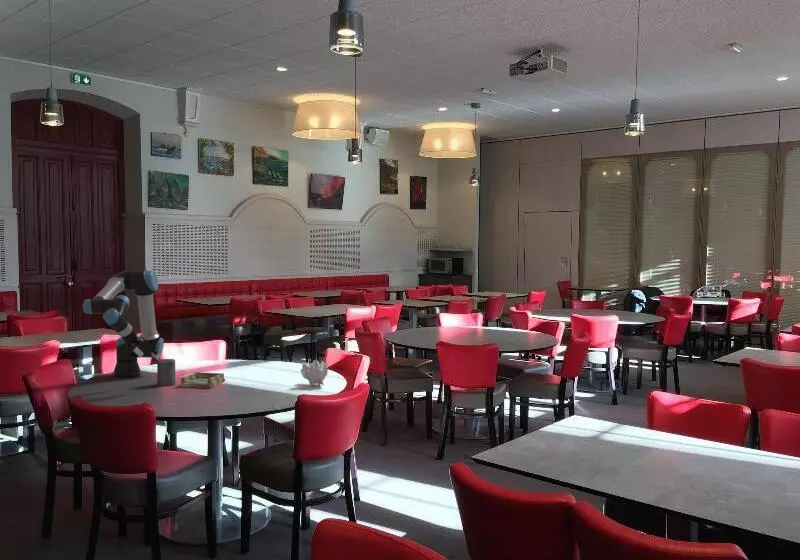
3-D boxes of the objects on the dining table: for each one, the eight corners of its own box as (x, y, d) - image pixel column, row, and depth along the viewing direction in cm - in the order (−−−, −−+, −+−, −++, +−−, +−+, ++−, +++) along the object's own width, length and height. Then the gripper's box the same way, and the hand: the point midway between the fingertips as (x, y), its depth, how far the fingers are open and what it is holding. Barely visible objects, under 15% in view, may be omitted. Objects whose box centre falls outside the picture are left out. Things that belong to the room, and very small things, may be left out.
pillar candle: (158, 383, 376) (158, 356, 375) (176, 382, 378) (176, 356, 377) (156, 386, 366) (155, 359, 365) (174, 386, 369) (174, 359, 368)
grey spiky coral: (338, 362, 373) (318, 348, 367) (327, 389, 364) (306, 375, 357) (318, 367, 388) (298, 354, 381) (306, 393, 378) (286, 380, 372)
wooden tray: (195, 380, 383) (195, 372, 383) (225, 381, 380) (225, 373, 380) (180, 387, 365) (180, 378, 365) (211, 388, 362) (211, 379, 362)
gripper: (106, 336, 352) (131, 360, 366) (138, 339, 340) (162, 364, 353) (115, 325, 356) (138, 349, 370) (147, 328, 344) (170, 353, 358)
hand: (150, 356), depth 362 cm, fingers open, 13 cm apart
